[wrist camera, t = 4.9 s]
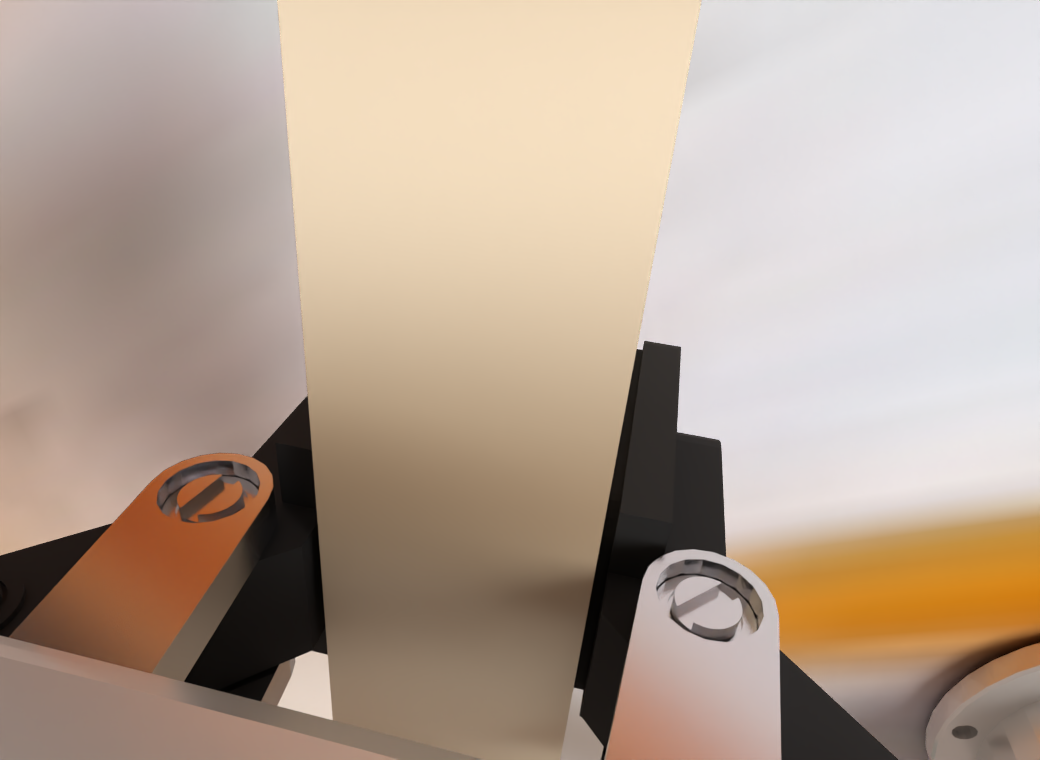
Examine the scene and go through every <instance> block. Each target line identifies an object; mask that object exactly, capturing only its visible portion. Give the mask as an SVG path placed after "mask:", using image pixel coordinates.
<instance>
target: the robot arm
mask: <svg viewBox="0 0 1040 760" xmlns="http://www.w3.org/2000/svg"><path fill="white" fill-rule="evenodd" d="M680 356H681V347H678V346H672V345H666V344H660V343H654V342H648V341H644V346H643V350H639V349H637V350H636V355H635V360H634V366H633V371H632V376H631V382H630V387H629V393H628V398H627V403H626V409H625V414H624V419H623V425H622V430H621V435H620V441H619V446H618V452H617V457H616V462H615V468H614V473H613V478H612V484H611V489H610V495H609V500H608V505H607V511H606V516H605V521H604V527H603V532H602V538H601V543H600V548H599V554H598V559H597V564H596V570H595V575H594V580H593V586H592V591H591V597H590V602H589V607H588V613H587V618H586V623H585V629H584V634H583V640H582V645H581V650H580V656H579V661H578V666H577V672H576V677H575V683H574V688H577V689H581V690H583V695H582V702H581V708H580V714H579V716H580V717H582V718H583V720H584V721H585V722H586V724H587V725H588V726H589V728H590V729H591V730H592V732H593V733H594V734H595V736H596V737H597V738H598V740H599V741H600V742H601V744H602V745H603V749H602V754H601V758H600V760H898V759H897V758H896V757H895V756H894V755H892V754H891V753H890V752H889V751H888V750H887V749H886V748H885V747H884V746H883V745H882V744H881V743H880V742H878V741H877V740H876V739H875V738H874V737H873V736H872V735H871V734H870V733H869V732H868V731H867V730H866V729H864V728H863V727H862V726H861V725H860V724H859V723H858V722H857V721H856V720H855V719H854V718H853V717H852V716H850V715H849V714H848V713H847V712H846V711H845V710H844V709H843V708H842V707H841V706H840V705H839V704H838V703H836V702H835V701H834V700H833V699H832V698H831V697H830V696H829V695H828V694H827V693H826V692H825V691H824V690H822V689H821V688H820V687H819V686H818V685H817V684H816V683H815V682H814V681H813V680H812V679H811V678H809V677H808V676H807V675H806V674H805V673H804V672H803V671H802V670H801V669H800V668H799V667H798V666H797V665H795V664H794V663H793V662H792V661H791V660H790V659H789V658H788V657H787V656H786V655H785V654H784V653H783V652H781V651H780V650H779V615H778V611H777V606H776V602H775V599H774V598H773V596H772V594H771V593H770V591H769V589H768V588H767V586H766V584H764V583H763V582H762V581H761V580H760V579H759V578H758V577H757V576H756V575H755V574H754V573H753V572H752V571H751V570H749V569H748V568H746V567H744V566H743V565H741V564H740V563H738V562H736V561H735V560H733V559H730V558H728V557H726V545H725V522H724V499H723V476H722V452H721V442H720V441H719V440H716V439H711V438H705V437H700V436H695V435H689V434H684V433H678V432H677V417H678V397H679V376H680ZM310 651H314V652H318V653H322V654H326V655H328V652H327V639H326V626H325V613H324V600H323V587H322V574H321V561H320V548H319V535H318V522H317V509H316V496H315V483H314V470H313V457H312V444H311V431H310V418H309V405H308V396H307V397H306V398H305V399H304V400H303V401H302V402H301V403H300V405H299V406H298V407H297V408H296V409H295V410H294V411H293V412H292V413H291V415H290V416H289V417H288V418H287V419H286V420H285V421H284V422H283V423H282V424H281V426H280V427H279V428H278V429H277V430H276V431H275V432H274V433H273V434H272V436H271V437H270V438H269V439H268V440H267V441H266V442H265V443H264V444H263V446H262V447H261V448H260V449H259V450H258V451H257V452H256V453H255V454H254V456H253V457H248V456H244V455H241V454H232V453H215V454H208V455H200V456H197V457H194V458H190V459H187V460H184V461H181V462H179V463H177V464H175V465H173V466H171V467H169V468H167V469H166V470H164V471H163V472H162V473H160V474H159V475H158V476H157V477H156V478H154V479H153V480H152V481H151V482H150V483H149V484H148V485H147V486H146V487H145V489H144V490H143V491H142V492H141V493H140V494H139V495H138V496H137V497H136V498H135V500H134V501H133V502H132V503H131V504H130V505H129V506H128V507H127V508H126V509H125V510H124V512H123V513H122V514H121V515H120V516H119V517H118V518H117V519H116V520H115V521H114V522H113V523H112V524H109V525H105V526H102V527H98V528H95V529H91V530H88V531H84V532H81V533H77V534H74V535H70V536H67V537H63V538H60V539H56V540H53V541H50V542H46V543H43V544H39V545H36V546H32V547H29V548H25V549H22V550H18V551H15V552H11V553H8V554H4V555H1V556H0V760H483V759H480V758H476V757H472V756H468V755H465V754H461V753H457V752H453V751H449V750H446V749H442V748H438V747H434V746H430V745H426V744H422V743H419V742H415V741H411V740H407V739H403V738H399V737H395V736H392V735H388V734H384V733H380V732H376V731H372V730H368V729H365V728H361V727H357V726H353V725H349V724H345V723H341V722H338V721H334V720H330V719H326V718H322V717H318V716H314V715H311V714H307V713H303V712H299V711H295V710H291V709H287V708H283V707H280V706H277V705H278V703H279V701H280V699H281V697H282V695H283V693H284V691H285V689H286V686H287V684H288V682H289V680H290V678H291V676H292V672H293V669H294V665H295V658H296V657H298V656H301V655H303V654H305V653H308V652H310ZM925 747H926V751H927V754H928V757H929V760H1040V643H1037V644H1033V645H1029V646H1026V647H1023V648H1021V649H1018V650H1016V651H1013V652H1011V653H1009V654H1006V655H1004V656H1001V657H999V658H996V659H994V660H992V661H990V662H989V663H987V664H985V665H984V666H982V667H980V668H979V669H977V670H975V671H973V672H972V673H970V674H968V675H967V676H966V677H965V678H963V679H962V680H961V681H960V682H959V683H958V684H956V685H955V686H954V687H953V688H952V689H951V690H949V691H948V692H947V693H946V694H945V696H944V697H943V698H942V700H941V701H940V702H939V704H938V705H937V706H936V708H935V709H934V710H933V712H932V715H931V717H930V720H929V723H928V725H927V728H926V745H925Z"/></svg>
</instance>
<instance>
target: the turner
mask: <svg viewBox="0 0 1040 760" xmlns="http://www.w3.org/2000/svg"><path fill="white" fill-rule="evenodd" d="M277 3H278V16H279V28H280V41H281V54H282V67H283V80H284V93H285V106H286V119H287V132H288V145H289V158H290V171H291V184H292V197H293V210H294V223H295V236H296V249H297V262H298V275H299V288H300V301H301V314H302V327H303V340H304V353H305V366H306V379H307V392H308V405H309V418H310V431H311V444H312V457H313V470H314V483H315V496H316V509H317V522H318V535H319V548H320V561H321V574H322V587H323V600H324V613H325V626H326V639H327V652H328V665H329V678H330V691H331V704H332V717H333V720H334V721H338V722H341V723H345V724H349V725H353V726H357V727H361V728H365V729H368V730H372V731H376V732H380V733H384V734H388V735H392V736H395V737H399V738H403V739H407V740H411V741H415V742H419V743H422V744H426V745H430V746H434V747H438V748H442V749H446V750H449V751H453V752H457V753H461V754H465V755H468V756H472V757H476V758H480V759H483V760H600V758H601V754H602V749H603V745H602V744H601V742H600V741H599V740H598V738H597V737H596V736H595V734H594V733H593V732H592V730H591V729H590V728H589V726H588V725H587V724H586V722H585V721H584V720H583V718H582V717H580V716H579V714H580V708H581V702H582V695H583V690H581V689H577V688H574V683H575V677H576V672H577V666H578V661H579V656H580V650H581V645H582V640H583V634H584V629H585V623H586V618H587V613H588V607H589V602H590V597H591V591H592V586H593V580H594V575H595V570H596V564H597V559H598V554H599V548H600V543H601V538H602V532H603V527H604V521H605V516H606V511H607V505H608V500H609V495H610V489H611V484H612V478H613V473H614V468H615V462H616V457H617V452H618V446H619V441H620V435H621V430H622V425H623V419H624V414H625V409H626V403H627V398H628V393H629V387H630V382H631V376H632V371H633V366H634V360H635V355H636V350H637V344H638V339H639V333H640V328H641V323H642V317H643V312H644V307H645V301H646V296H647V290H648V285H649V280H650V274H651V269H652V264H653V258H654V253H655V248H656V242H657V237H658V231H659V226H660V221H661V215H662V210H663V205H664V199H665V194H666V188H667V183H668V178H669V172H670V167H671V162H672V156H673V151H674V145H675V140H676V135H677V129H678V124H679V119H680V113H681V108H682V103H683V97H684V92H685V86H686V81H687V76H688V70H689V65H690V60H691V54H692V49H693V43H694V38H695V33H696V27H697V22H698V17H699V11H700V6H701V0H277Z"/></svg>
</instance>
